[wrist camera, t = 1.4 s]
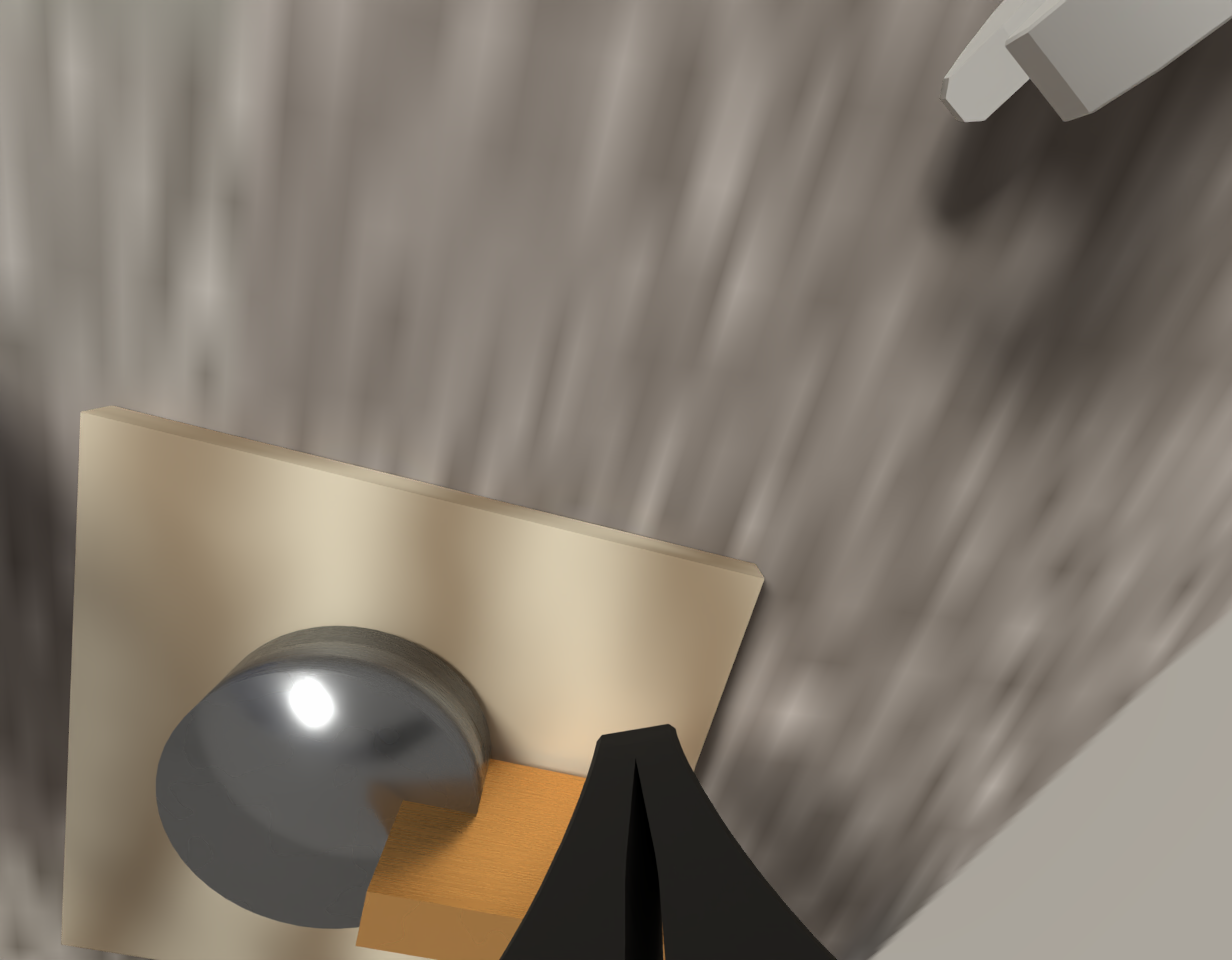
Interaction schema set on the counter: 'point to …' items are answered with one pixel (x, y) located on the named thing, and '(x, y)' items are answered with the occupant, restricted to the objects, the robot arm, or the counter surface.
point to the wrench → (1074, 51)
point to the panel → (342, 596)
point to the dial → (361, 797)
